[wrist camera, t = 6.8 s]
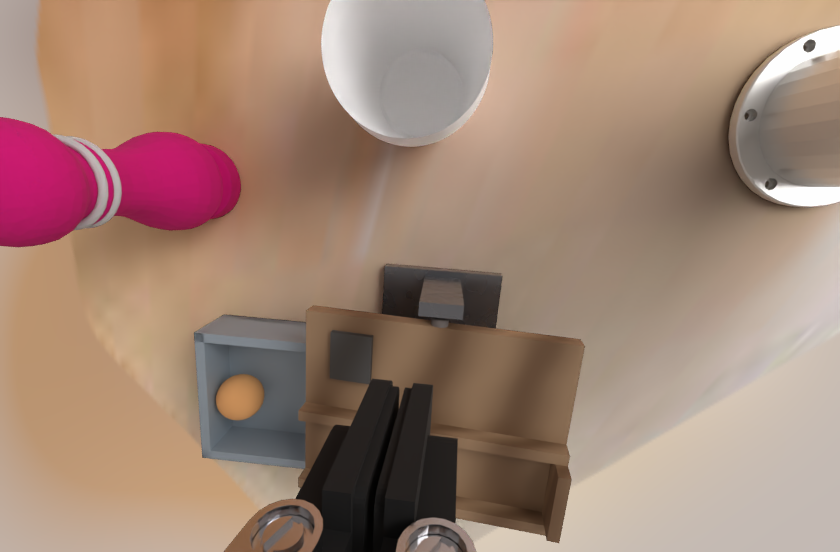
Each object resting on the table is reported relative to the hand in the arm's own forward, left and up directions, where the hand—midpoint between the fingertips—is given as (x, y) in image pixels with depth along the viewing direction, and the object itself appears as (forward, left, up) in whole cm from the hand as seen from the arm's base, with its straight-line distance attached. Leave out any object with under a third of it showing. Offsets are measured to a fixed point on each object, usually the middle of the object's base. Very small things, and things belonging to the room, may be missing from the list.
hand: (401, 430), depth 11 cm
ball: (+16, +14, -22) cm, 30 cm away
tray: (-1, +10, -17) cm, 19 cm away
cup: (+2, -13, -25) cm, 28 cm away
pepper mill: (+20, -5, -25) cm, 32 cm away
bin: (+13, +13, -25) cm, 31 cm away
